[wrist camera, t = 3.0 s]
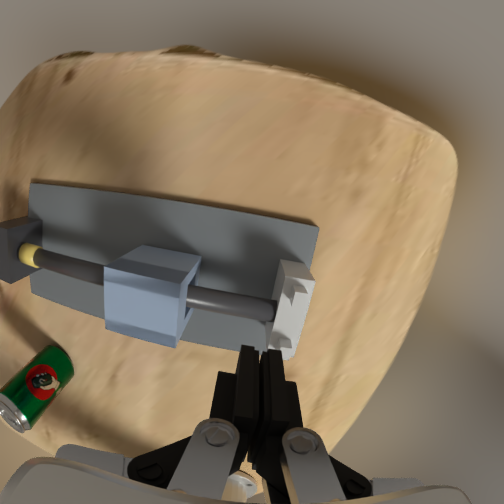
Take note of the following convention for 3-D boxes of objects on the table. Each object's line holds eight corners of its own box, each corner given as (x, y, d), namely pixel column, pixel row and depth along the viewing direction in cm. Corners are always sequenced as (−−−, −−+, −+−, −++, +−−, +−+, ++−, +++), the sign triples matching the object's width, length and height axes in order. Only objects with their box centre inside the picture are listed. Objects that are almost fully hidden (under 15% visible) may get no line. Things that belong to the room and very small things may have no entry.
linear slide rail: (317, 226, 22) (339, 241, 16) (284, 353, 24) (291, 397, 18) (32, 182, 21) (-10, 186, 15) (33, 289, 24) (-2, 309, 18)
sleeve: (201, 256, 21) (180, 284, 15) (195, 307, 22) (175, 348, 16) (142, 244, 21) (103, 266, 15) (139, 294, 22) (105, 328, 16)
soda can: (44, 336, 25) (-14, 388, 13) (75, 354, 25) (19, 416, 14) (48, 365, 26) (-1, 417, 15) (77, 382, 27) (31, 443, 15)
